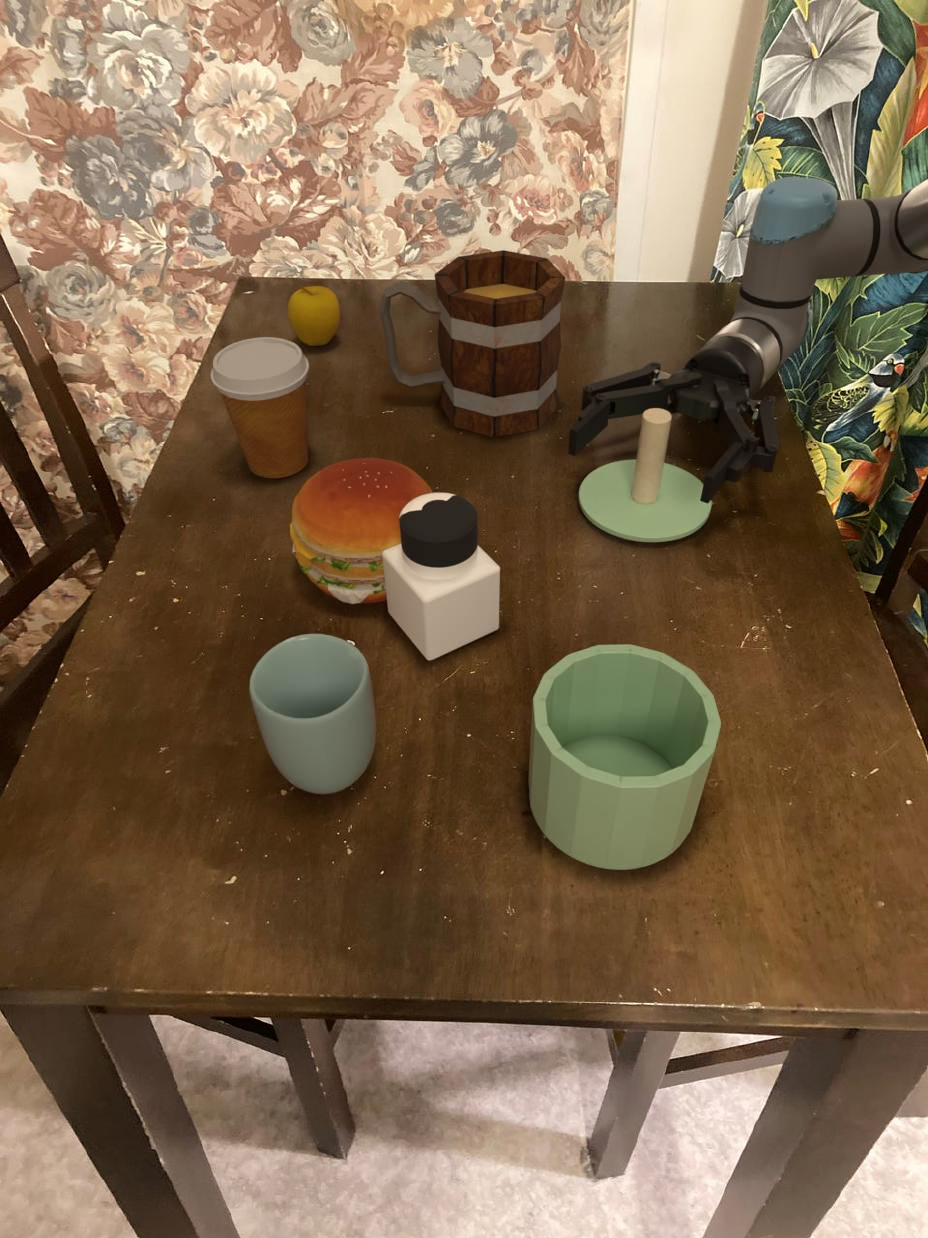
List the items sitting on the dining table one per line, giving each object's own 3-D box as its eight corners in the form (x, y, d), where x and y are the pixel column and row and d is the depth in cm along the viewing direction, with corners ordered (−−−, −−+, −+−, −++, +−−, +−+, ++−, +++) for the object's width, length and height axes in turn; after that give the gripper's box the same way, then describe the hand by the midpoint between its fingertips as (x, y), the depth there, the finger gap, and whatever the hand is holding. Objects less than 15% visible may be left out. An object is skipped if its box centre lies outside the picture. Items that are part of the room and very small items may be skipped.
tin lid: (720, 483, 88) (740, 393, 81) (695, 560, 79) (715, 467, 72) (598, 458, 91) (607, 370, 84) (561, 529, 83) (568, 438, 76)
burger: (429, 624, 74) (423, 532, 67) (276, 610, 76) (255, 519, 69) (453, 527, 83) (450, 438, 76) (317, 516, 85) (302, 428, 78)
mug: (558, 377, 104) (566, 251, 93) (556, 439, 94) (564, 306, 84) (396, 372, 105) (386, 247, 95) (378, 433, 96) (364, 301, 85)
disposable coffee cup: (341, 459, 92) (327, 355, 84) (270, 499, 87) (246, 392, 79) (286, 427, 97) (267, 325, 89) (215, 463, 92) (188, 359, 84)
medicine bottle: (500, 630, 73) (503, 517, 65) (428, 663, 71) (421, 551, 62) (456, 582, 78) (453, 471, 69) (386, 612, 75) (374, 501, 67)
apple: (285, 352, 110) (274, 290, 104) (306, 329, 114) (297, 269, 108) (332, 358, 108) (323, 296, 103) (351, 335, 112) (344, 274, 107)
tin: (708, 758, 63) (734, 671, 57) (674, 894, 56) (699, 812, 49) (557, 713, 67) (565, 626, 60) (505, 836, 59) (507, 752, 52)
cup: (341, 828, 60) (321, 738, 53) (253, 783, 63) (223, 692, 56) (401, 748, 65) (390, 657, 58) (317, 710, 67) (297, 618, 60)
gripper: (838, 436, 89) (759, 545, 76) (620, 370, 99) (521, 457, 87) (860, 368, 83) (779, 475, 71) (628, 307, 94) (523, 390, 82)
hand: (636, 465), depth 79 cm, fingers open, 13 cm apart
